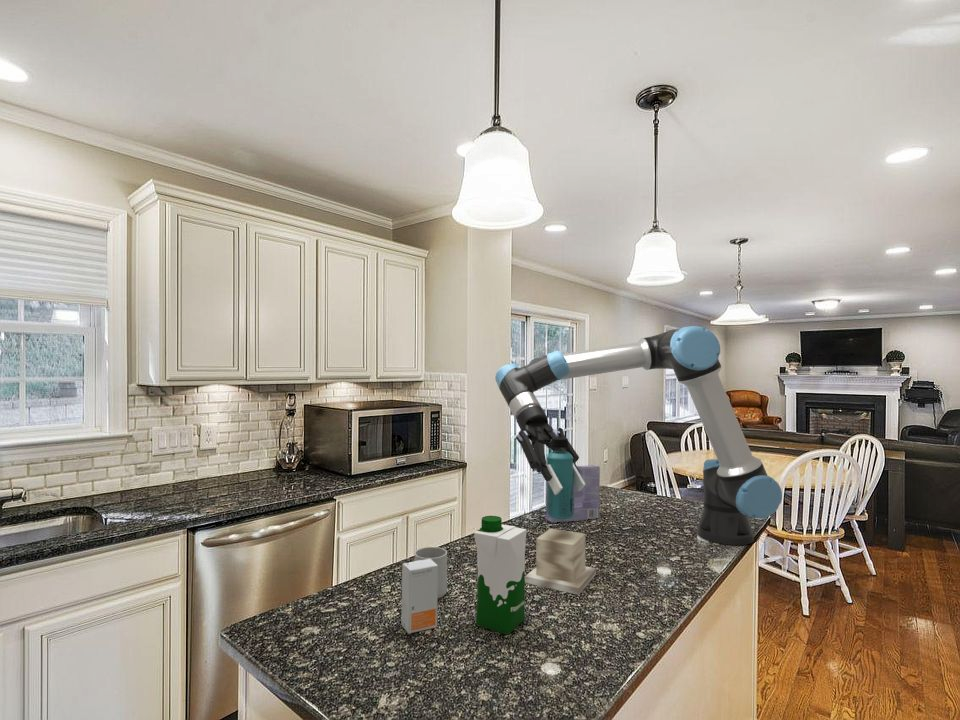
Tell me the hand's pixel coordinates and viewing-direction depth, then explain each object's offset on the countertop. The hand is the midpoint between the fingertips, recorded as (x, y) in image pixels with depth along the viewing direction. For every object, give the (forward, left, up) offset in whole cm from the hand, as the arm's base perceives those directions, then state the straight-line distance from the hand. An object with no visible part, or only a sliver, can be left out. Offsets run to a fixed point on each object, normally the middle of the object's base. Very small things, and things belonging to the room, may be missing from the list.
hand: (570, 489), depth 119 cm
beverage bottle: (+3, -2, -9) cm, 9 cm away
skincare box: (+19, +33, -22) cm, 44 cm away
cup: (+26, +21, -22) cm, 40 cm away
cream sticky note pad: (+3, -2, -22) cm, 22 cm away
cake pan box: (+16, -50, -22) cm, 57 cm away
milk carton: (+6, +24, -22) cm, 33 cm away
